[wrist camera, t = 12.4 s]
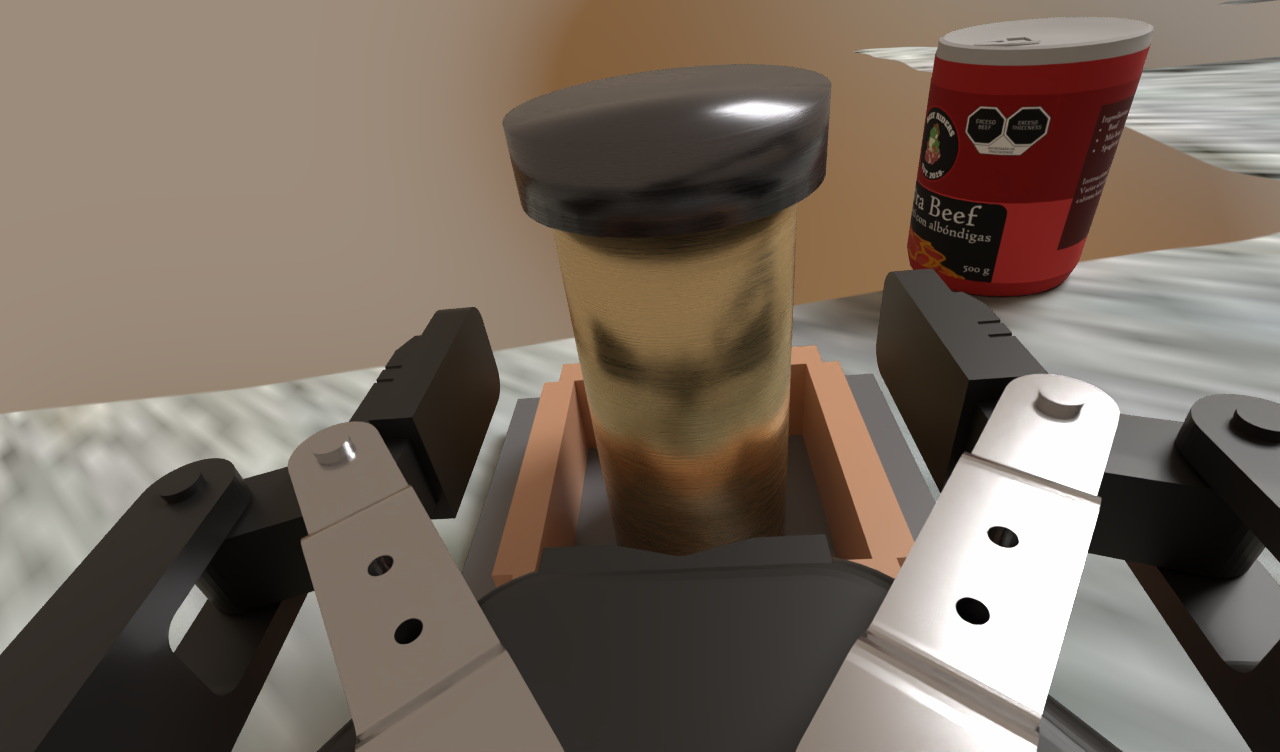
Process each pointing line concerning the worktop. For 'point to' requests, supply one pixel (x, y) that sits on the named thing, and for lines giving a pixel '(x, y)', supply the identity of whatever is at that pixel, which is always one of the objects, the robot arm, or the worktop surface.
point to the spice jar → (680, 282)
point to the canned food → (1020, 148)
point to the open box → (815, 488)
